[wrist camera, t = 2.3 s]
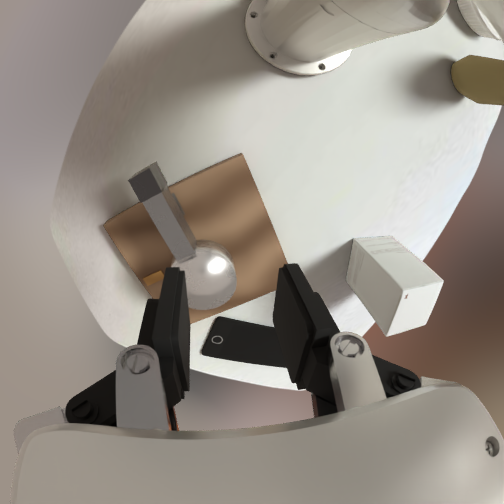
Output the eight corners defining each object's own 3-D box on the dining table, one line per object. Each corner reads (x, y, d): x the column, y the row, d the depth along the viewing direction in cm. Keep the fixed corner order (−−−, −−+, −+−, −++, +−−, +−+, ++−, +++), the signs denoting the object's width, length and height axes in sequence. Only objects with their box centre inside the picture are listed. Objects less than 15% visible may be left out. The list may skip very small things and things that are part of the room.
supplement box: (344, 281, 40) (383, 338, 29) (352, 236, 36) (403, 289, 25) (382, 276, 41) (426, 326, 30) (393, 234, 37) (446, 280, 26)
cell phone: (217, 313, 39) (217, 318, 39) (317, 333, 45) (318, 337, 44) (200, 351, 43) (200, 355, 42) (293, 365, 48) (294, 368, 48)
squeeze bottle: (468, 110, 28) (555, 135, 13) (441, 81, 26) (540, 95, 10) (476, 76, 25) (559, 91, 9) (450, 45, 23) (541, 49, 7)
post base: (107, 220, 30) (96, 234, 26) (241, 152, 29) (246, 158, 25) (177, 322, 39) (176, 341, 35) (291, 275, 38) (300, 293, 34)
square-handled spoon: (243, 279, 31) (247, 295, 29) (190, 300, 32) (189, 318, 29) (178, 150, 24) (174, 155, 21) (117, 183, 24) (107, 192, 21)
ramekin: (481, 3, 16) (499, 2, 12) (491, 48, 22) (510, 49, 17) (446, -21, 15) (465, -26, 11) (458, 27, 21) (480, 25, 16)
